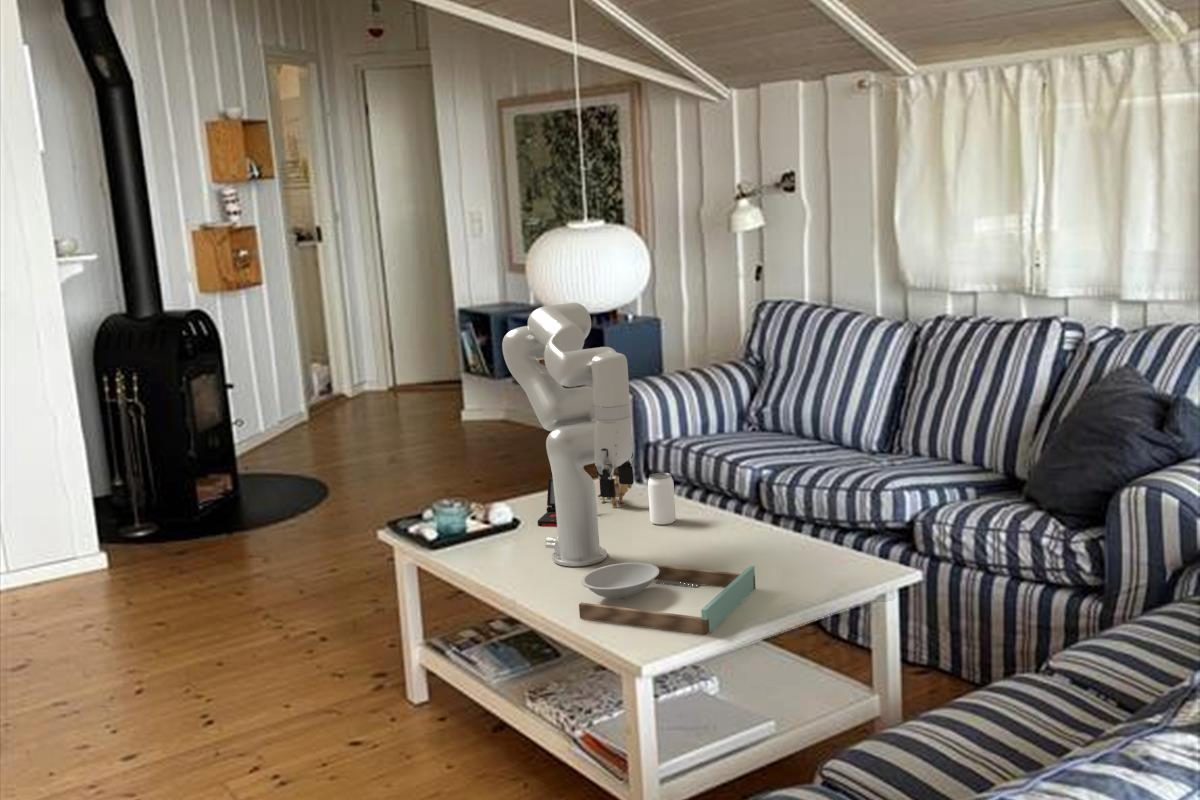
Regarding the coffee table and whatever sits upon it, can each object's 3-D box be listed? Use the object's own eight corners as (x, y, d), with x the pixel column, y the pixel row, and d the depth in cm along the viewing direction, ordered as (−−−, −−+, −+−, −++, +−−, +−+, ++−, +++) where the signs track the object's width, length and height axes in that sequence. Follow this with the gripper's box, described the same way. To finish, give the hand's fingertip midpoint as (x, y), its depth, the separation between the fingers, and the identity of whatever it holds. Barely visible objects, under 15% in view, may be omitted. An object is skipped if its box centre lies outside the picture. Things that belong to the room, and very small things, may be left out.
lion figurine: (637, 507, 321) (635, 474, 319) (620, 511, 318) (618, 478, 316) (605, 496, 333) (603, 464, 331) (589, 500, 330) (587, 468, 328)
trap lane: (579, 618, 246) (578, 594, 245) (636, 575, 268) (634, 554, 267) (707, 634, 233) (706, 610, 232) (755, 588, 255) (754, 566, 254)
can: (676, 524, 303) (673, 478, 300) (650, 526, 303) (647, 480, 301) (675, 517, 309) (672, 471, 307) (649, 518, 309) (647, 473, 307)
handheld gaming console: (536, 526, 310) (533, 489, 308) (551, 512, 322) (548, 476, 320) (571, 527, 307) (568, 489, 306) (585, 513, 319) (582, 476, 317)
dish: (634, 579, 266) (632, 557, 265) (675, 595, 255) (674, 572, 254) (568, 600, 256) (566, 577, 255) (608, 618, 245) (606, 594, 244)
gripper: (612, 402, 263) (617, 478, 267) (578, 421, 248) (584, 501, 251) (644, 403, 260) (649, 480, 264) (612, 422, 245) (617, 503, 248)
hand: (617, 490), depth 257 cm, fingers open, 9 cm apart
